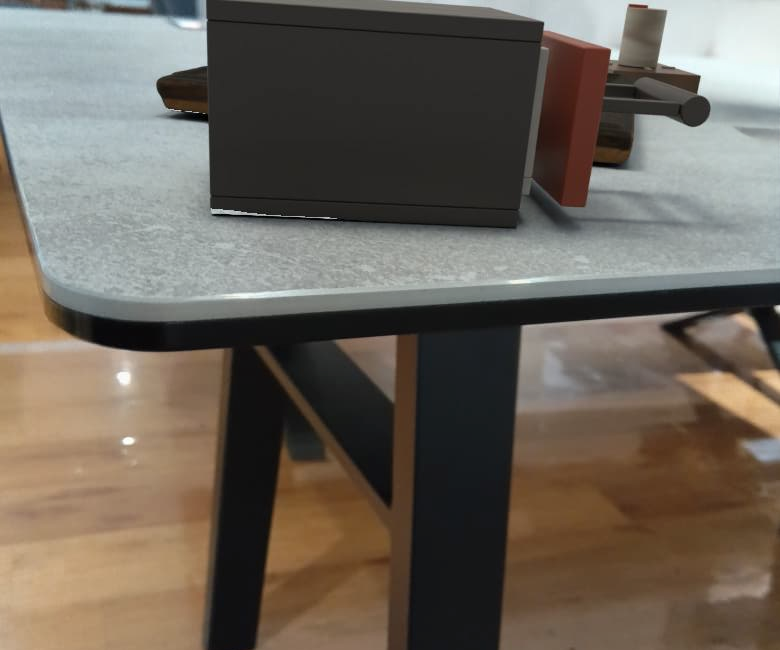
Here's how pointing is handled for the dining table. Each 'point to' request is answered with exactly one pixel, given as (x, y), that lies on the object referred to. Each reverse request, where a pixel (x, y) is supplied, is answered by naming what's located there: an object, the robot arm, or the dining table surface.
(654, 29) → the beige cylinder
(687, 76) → the panel
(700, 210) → the dining table surface
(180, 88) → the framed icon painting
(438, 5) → the dark grey lidded box
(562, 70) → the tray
